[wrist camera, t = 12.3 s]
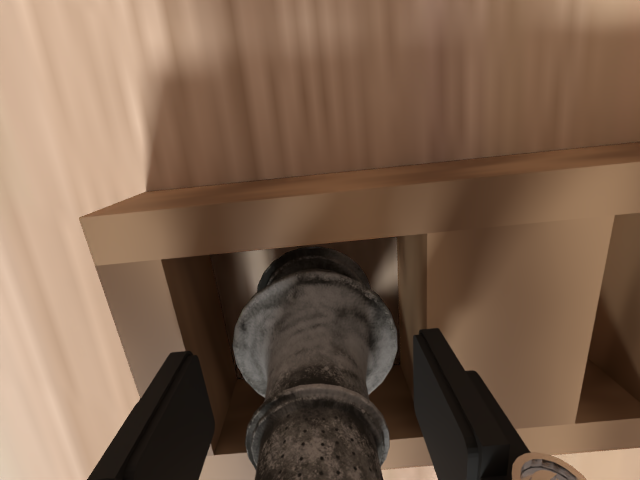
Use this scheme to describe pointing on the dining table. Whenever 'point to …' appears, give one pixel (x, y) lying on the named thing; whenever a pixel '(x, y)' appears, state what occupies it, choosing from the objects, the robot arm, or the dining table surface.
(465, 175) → the frame
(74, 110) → the dining table surface
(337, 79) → the dining table surface
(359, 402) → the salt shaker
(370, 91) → the dining table surface
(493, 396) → the robot arm
